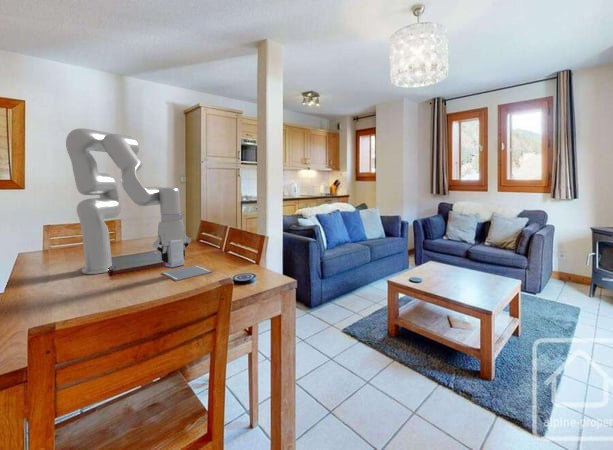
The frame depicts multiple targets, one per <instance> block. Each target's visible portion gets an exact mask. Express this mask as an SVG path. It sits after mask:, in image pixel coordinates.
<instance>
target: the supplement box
mask: <svg viewBox="0 0 613 450" xmlns="http://www.w3.org/2000/svg"><path fill="white" fill-rule="evenodd" d="M183 244H184V243H183V240H182V239H181V240H173V241H169V246H168V247H167V250H166V253H167V259H168V262H167V263H165V262H163V267H164V268H167V269H172V270H175V269H178V268H180V267H181V268H182V267H184V265H185V257H184V255H183Z"/></svg>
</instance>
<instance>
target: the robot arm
mask: <svg viewBox="0 0 613 450" xmlns="http://www.w3.org/2000/svg"><path fill="white" fill-rule="evenodd" d="M65 147H66V148H65V149H66V152H67V154H68V156H69V159H70V161H71V167H72V172H73V177H74V183H75V186H76V189H77V191H78V193H79V194H81V195H83V196H98V195H99V197H94V198H86V199H83V200H81V201H80V202H78V204H77V206H76V214H77V217H78V219H79V223H80V228H81V236H82V243H83V244H82V245H83V253H84V255H83V256H84V262H85V263H84V264H85V267H83V268H82V269H81V273H82V274H86V275H98V274H103V273H104V274H105V273H109V272H110V271H109V269H108V268H109V267H110V266H112V264H113V262H112V254H111V253H112V251H111V241H110V232H109V227H108V225H107V224H106V223H105V221H104V220H108V219H113V218H117V217H118V216H119V215H120V213H121V211H122V203H121V198H120V192H119V187H118V183H117V181H116V179H115V177H113V176H112V175H110V174H108V173H106V172H99V169H98V164H97V162H96V159H95V157H94V156H93V155H92V154H91V151H92V152H93V151H94V152H99V153H100V152H102V153H106V154H107V155H108V156H109V157H110V159H111V160H112V162H113V163H114V164H115V165H116V167H117V168H118V169H119V171H120V172H121V175H120V178H121V179H120V180H121V184H122V185H121V186H122V188H123V191H125V193H126V194H127V196H128V197H129V199H130V200H131V201H132V202H133V203H134V204H135V205H137V206H140V207H148V206H158V205H159V208H160V209H159V212H160V221H159V222H158V225H157V239H156V240H155V241H154V242H153V243H152V247H153V248H154V249H156V250H157V251H159V252H160V254H161V255H160V256H161V261H162V262H163V263H164V262H165V263H167V262H168V259H167V253H166V250H167V247H168V246H169V241H173V240H181V239H182V240H183V255H184V258H185V257H186V249H187V247H188V246H189V244H190V243H191V242H192V238H190V237H189V236H188V235H186V228H185V225H184V224H185V223H184V221H183V218H184V217H185V214H184V213H182V211H181V210H182V209H181V194H180V190H179V188H177V187H176V186H175V187H173V186H172V187H171V186H170V187H161V186H144V185H143V184H142V183H141V181H140V179H139V178H138V176H137V172H138V171H140V170H141V169H142V167H143V162H142V161H141V159H140V158H139V157H138V156H137V155H138V153H139V152H140V145H139V142H138V141H137V140H136V139H135V138H134V137H132V136H127V135H123V134H117V133H112V132H111V133H110V132H106V131H101V130H97V129H96V130H95V129H90V128H76V129H72V130H71V131H70V132H69V133H68V134H67V135H66V139H65ZM160 246H161V247H160ZM108 271H109V272H108Z"/></svg>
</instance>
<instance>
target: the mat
mask: <svg viewBox="0 0 613 450" xmlns="http://www.w3.org/2000/svg"><path fill="white" fill-rule="evenodd" d="M211 273H213V271H212V270H208V269H207V268H205V267H202V266H200V265H197V264H196V265H192V266H187V267H186V266H185V267H181V268H175V269H172V270H169V271H168V270H167V271H163V272H161V275H163V276H165V277H166V278H169V279H171V280H173V281H175V282H179V281H183V280H187V279H190V278H194V277H200V276H203V275H207V274H211Z"/></svg>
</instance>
